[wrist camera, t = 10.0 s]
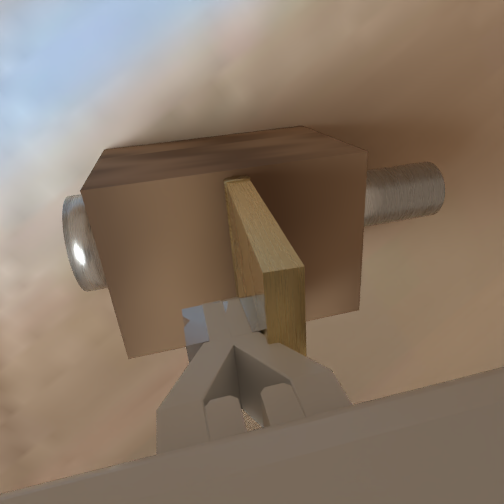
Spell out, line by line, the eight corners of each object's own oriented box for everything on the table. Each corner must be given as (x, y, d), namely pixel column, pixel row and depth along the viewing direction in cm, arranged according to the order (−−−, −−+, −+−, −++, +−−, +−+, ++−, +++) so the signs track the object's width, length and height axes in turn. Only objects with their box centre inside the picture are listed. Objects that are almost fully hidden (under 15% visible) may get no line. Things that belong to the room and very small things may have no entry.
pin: (97, 264, 19) (85, 310, 15) (74, 184, 17) (54, 215, 13) (399, 213, 21) (448, 242, 18) (407, 140, 20) (462, 156, 16)
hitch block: (135, 275, 22) (128, 358, 15) (104, 149, 18) (80, 190, 12) (304, 246, 23) (359, 310, 17) (302, 125, 20) (368, 151, 14)
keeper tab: (259, 308, 16) (237, 312, 16) (247, 174, 13) (222, 177, 13) (310, 460, 10) (275, 468, 10) (307, 265, 7) (260, 273, 7)
